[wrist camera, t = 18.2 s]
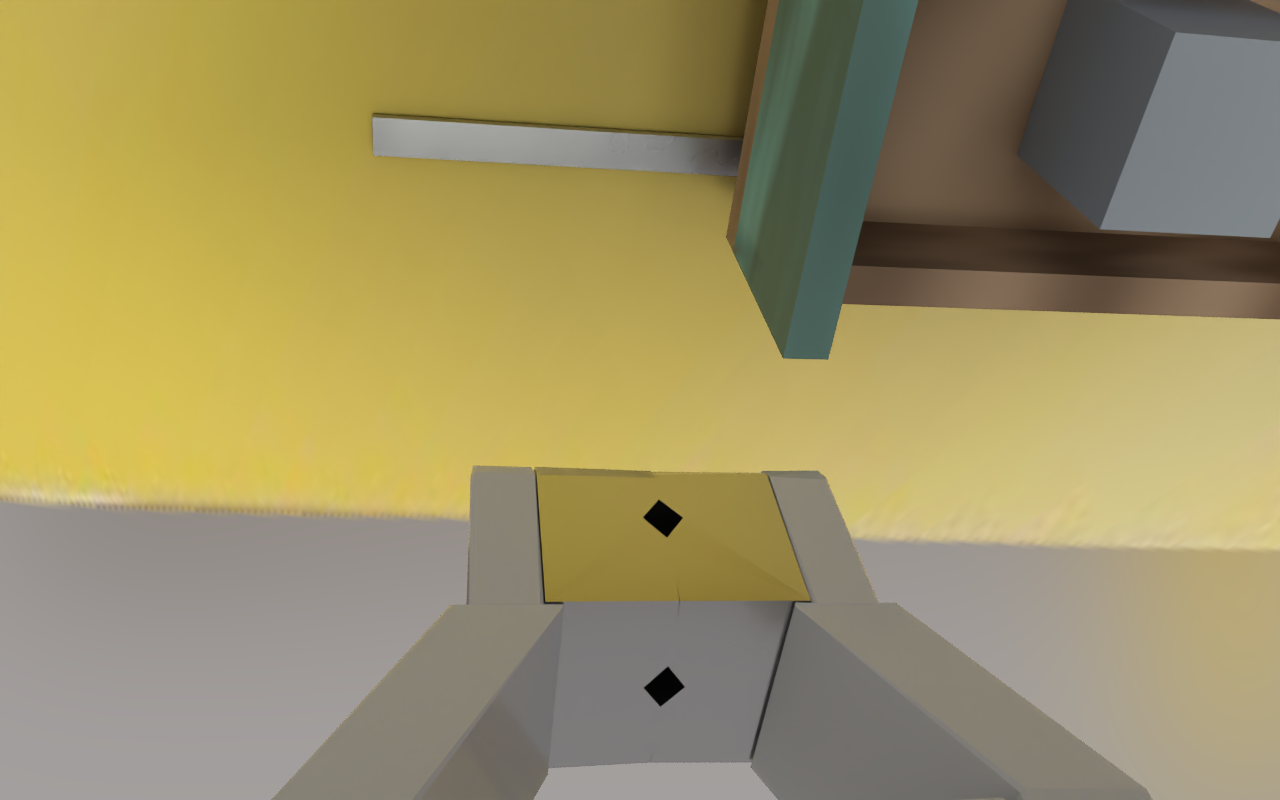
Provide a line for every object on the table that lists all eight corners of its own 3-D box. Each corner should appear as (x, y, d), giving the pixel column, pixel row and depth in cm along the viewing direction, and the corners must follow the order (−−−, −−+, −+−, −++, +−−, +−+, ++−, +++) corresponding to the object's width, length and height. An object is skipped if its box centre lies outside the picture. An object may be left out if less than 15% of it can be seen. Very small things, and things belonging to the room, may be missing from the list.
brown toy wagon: (1450, -132, 32) (1764, -65, 25) (1274, 232, 39) (1478, 376, 31) (779, -218, 29) (901, -169, 21) (710, 203, 35) (782, 358, 27)
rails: (1404, -105, 33) (1411, -103, 33) (1260, 202, 39) (1265, 206, 39) (366, -230, 28) (365, -229, 27) (373, 151, 33) (373, 155, 33)
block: (1238, -5, 30) (1361, 49, 26) (1168, 165, 33) (1270, 238, 29) (1074, -21, 29) (1175, 32, 25) (1017, 155, 32) (1099, 229, 28)
